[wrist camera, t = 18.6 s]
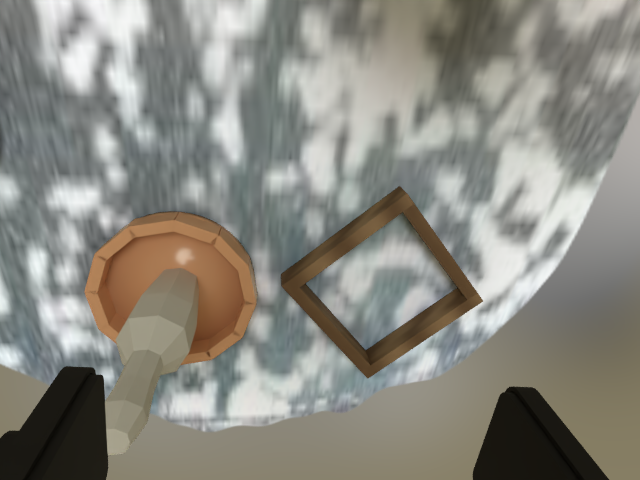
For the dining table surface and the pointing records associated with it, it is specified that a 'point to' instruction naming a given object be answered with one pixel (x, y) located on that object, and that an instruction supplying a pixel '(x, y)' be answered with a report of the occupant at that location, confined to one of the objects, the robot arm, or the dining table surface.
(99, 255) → the terracotta dish
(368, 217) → the square wooden frame
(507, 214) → the dining table surface
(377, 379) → the dining table surface
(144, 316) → the faceted bottle
